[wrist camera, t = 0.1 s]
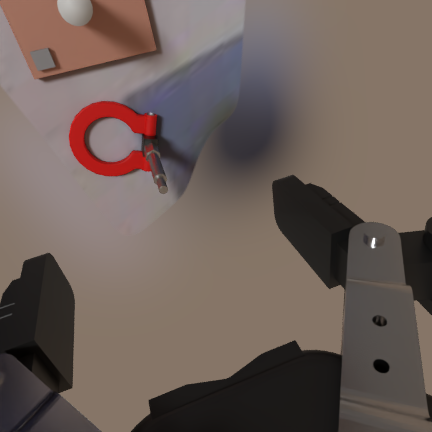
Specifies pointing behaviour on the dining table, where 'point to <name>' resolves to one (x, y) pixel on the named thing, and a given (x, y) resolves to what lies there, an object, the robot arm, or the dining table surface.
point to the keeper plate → (77, 32)
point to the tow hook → (136, 159)
